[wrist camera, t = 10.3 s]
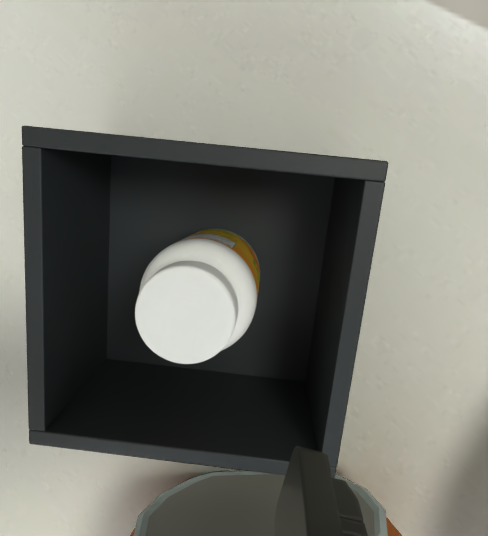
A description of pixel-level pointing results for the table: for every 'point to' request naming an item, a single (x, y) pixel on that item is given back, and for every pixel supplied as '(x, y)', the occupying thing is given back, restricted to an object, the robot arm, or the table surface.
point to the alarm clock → (236, 507)
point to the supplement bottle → (198, 296)
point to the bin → (128, 285)
